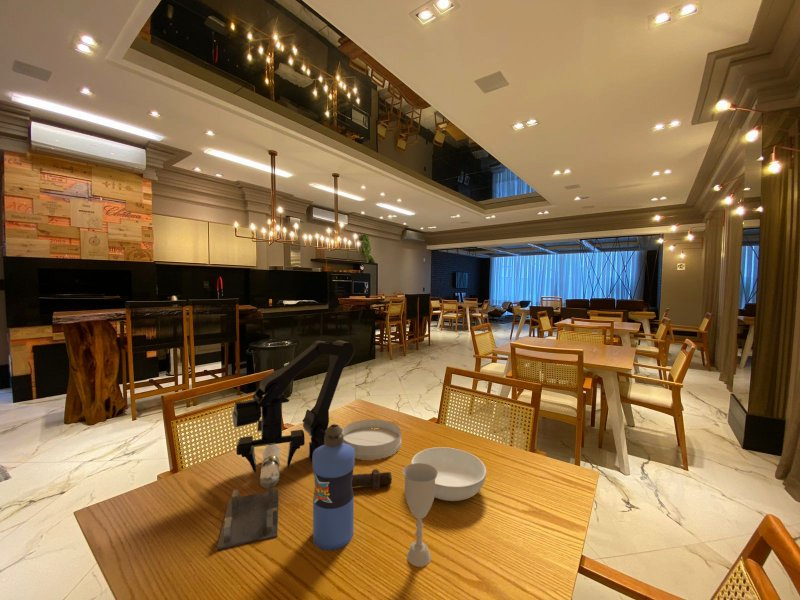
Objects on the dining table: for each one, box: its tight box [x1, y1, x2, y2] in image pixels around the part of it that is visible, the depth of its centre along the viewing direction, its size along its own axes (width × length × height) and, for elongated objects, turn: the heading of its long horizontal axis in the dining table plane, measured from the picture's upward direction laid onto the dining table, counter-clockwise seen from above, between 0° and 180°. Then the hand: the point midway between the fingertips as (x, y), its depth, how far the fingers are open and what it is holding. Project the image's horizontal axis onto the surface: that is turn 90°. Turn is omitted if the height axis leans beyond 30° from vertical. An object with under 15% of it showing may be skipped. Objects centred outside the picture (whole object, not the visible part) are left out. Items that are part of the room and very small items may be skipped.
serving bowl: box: [410, 446, 487, 502], centre depth 91 cm, size 21×21×7 cm
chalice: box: [402, 463, 438, 568], centre depth 67 cm, size 7×7×18 cm
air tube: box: [259, 444, 281, 489], centre depth 97 cm, size 5×16×5 cm, turn 20°
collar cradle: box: [216, 483, 279, 551], centre depth 78 cm, size 12×17×4 cm
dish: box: [341, 419, 402, 461], centre depth 116 cm, size 22×22×5 cm
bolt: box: [352, 468, 393, 490], centre depth 91 cm, size 6×5×15 cm
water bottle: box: [311, 423, 356, 551], centre depth 73 cm, size 9×9×25 cm
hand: (272, 469), depth 98 cm, fingers open, 9 cm apart
